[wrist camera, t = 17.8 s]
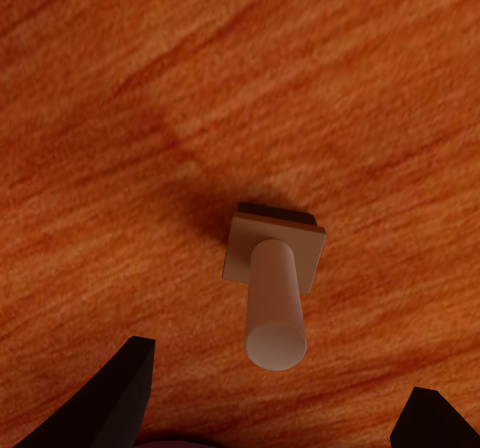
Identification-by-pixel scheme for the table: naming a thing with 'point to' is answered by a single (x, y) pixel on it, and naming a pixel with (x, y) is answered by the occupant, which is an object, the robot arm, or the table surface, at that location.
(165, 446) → the bowl
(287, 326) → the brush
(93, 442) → the robot arm
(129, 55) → the table surface
